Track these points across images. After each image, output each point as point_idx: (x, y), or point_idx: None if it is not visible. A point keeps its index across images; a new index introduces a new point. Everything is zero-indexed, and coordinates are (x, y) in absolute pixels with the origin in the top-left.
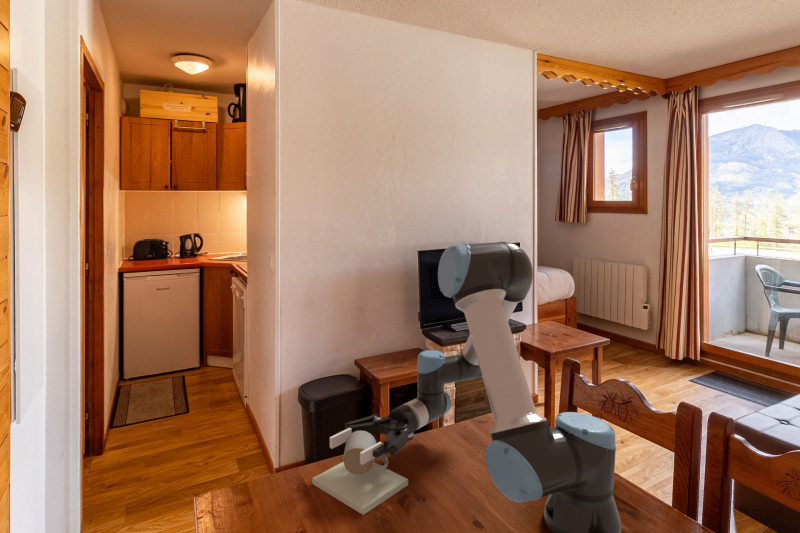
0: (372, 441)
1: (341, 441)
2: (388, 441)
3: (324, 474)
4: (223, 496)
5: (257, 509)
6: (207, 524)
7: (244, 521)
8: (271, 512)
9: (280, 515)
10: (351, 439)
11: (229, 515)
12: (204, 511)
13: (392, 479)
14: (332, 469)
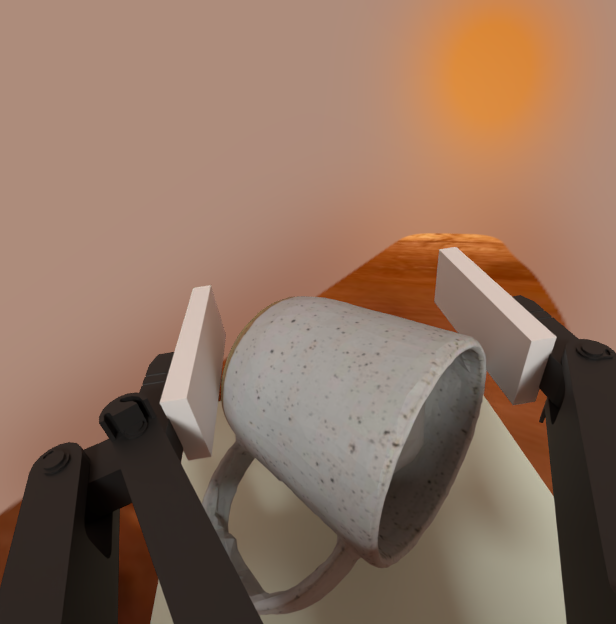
0: (315, 435)
1: (465, 327)
2: (126, 460)
3: None
4: (494, 252)
5: (408, 278)
6: (409, 236)
7: (382, 262)
8: (380, 290)
9: (358, 298)
10: (388, 315)
11: (417, 252)
12: (453, 235)
13: None
14: (495, 434)
